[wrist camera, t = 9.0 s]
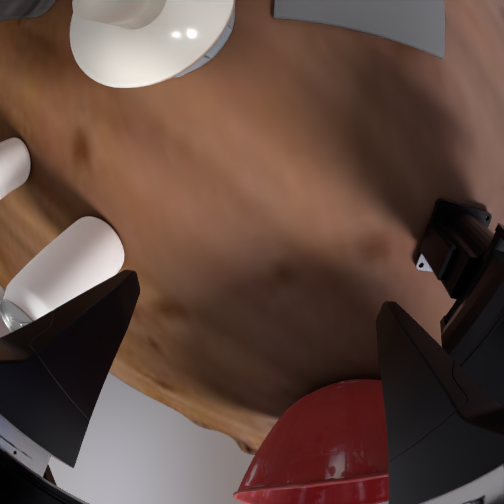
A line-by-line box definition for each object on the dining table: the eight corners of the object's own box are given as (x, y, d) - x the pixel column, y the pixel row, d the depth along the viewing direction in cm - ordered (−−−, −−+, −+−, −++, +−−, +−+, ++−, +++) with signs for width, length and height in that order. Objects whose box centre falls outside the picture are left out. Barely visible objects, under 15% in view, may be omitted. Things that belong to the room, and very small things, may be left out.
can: (65, 218, 23) (-16, 292, 13) (113, 209, 22) (22, 298, 12) (88, 272, 27) (25, 354, 17) (135, 271, 26) (72, 369, 15)
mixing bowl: (232, 424, 42) (217, 504, 29) (285, 316, 26) (274, 479, 13) (374, 438, 42) (378, 506, 29) (477, 350, 27) (510, 444, 14)
